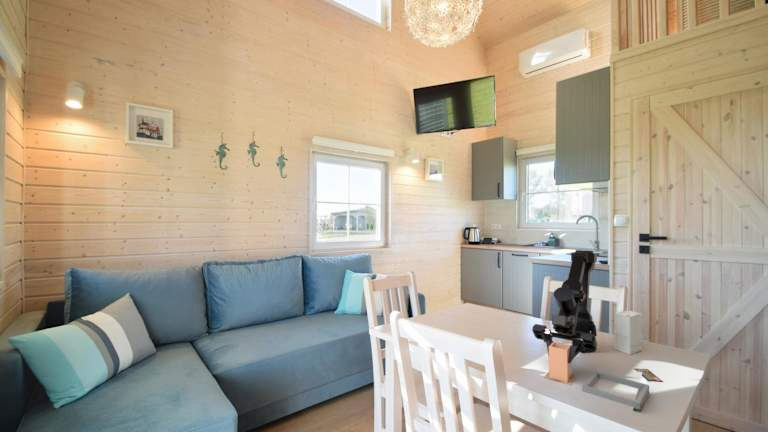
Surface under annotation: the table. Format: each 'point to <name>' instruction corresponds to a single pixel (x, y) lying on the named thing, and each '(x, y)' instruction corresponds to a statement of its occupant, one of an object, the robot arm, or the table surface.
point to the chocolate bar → (648, 375)
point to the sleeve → (559, 362)
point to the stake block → (562, 381)
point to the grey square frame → (637, 404)
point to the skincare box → (628, 331)
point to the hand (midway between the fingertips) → (559, 360)
